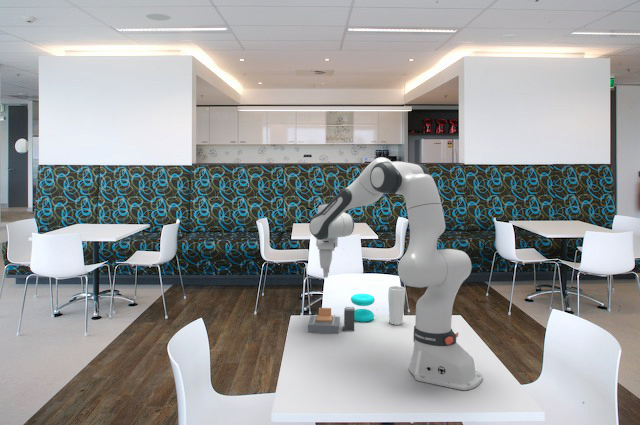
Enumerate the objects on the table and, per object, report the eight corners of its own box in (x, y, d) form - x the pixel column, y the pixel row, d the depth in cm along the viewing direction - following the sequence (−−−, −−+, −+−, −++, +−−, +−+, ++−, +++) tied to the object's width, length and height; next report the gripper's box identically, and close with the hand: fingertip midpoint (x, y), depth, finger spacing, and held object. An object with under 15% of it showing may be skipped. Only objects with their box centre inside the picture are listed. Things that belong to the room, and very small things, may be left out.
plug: (354, 327, 201) (354, 306, 200) (354, 330, 197) (354, 309, 196) (344, 327, 201) (344, 306, 200) (344, 330, 197) (344, 309, 196)
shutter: (332, 317, 204) (332, 308, 203) (331, 321, 198) (331, 312, 197) (317, 316, 204) (317, 307, 204) (316, 321, 198) (316, 312, 198)
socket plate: (339, 323, 205) (339, 315, 205) (338, 333, 193) (338, 324, 193) (310, 322, 206) (310, 314, 206) (307, 332, 194) (307, 323, 194)
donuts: (379, 295, 212) (365, 300, 204) (378, 318, 213) (365, 324, 205) (360, 291, 218) (346, 296, 211) (359, 313, 219) (345, 319, 212)
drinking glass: (405, 322, 208) (407, 287, 207) (401, 326, 202) (402, 290, 201) (390, 319, 211) (391, 285, 210) (385, 324, 205) (386, 288, 204)
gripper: (321, 238, 217) (320, 269, 218) (317, 245, 197) (316, 280, 198) (335, 238, 217) (335, 269, 218) (333, 246, 196) (332, 280, 198)
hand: (326, 274), depth 208 cm, fingers open, 7 cm apart
